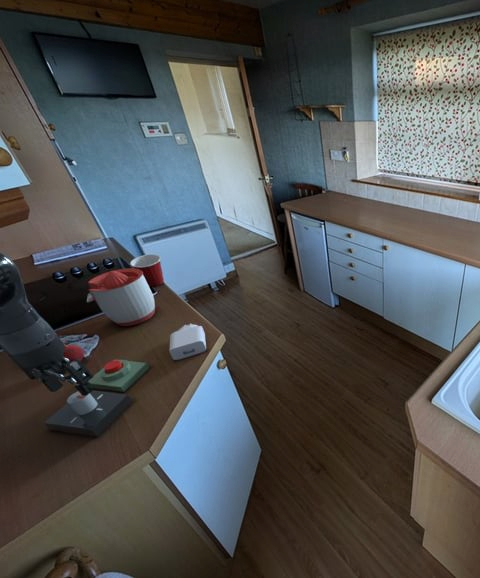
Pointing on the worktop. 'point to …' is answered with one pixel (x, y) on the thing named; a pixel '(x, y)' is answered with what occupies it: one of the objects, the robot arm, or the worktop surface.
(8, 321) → the robot arm
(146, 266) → the plastic cup
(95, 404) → the burner knob
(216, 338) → the worktop surface
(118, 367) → the button
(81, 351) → the red round fruit
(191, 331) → the charger
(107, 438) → the worktop surface
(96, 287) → the citrus juicer
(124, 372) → the block
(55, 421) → the panel
